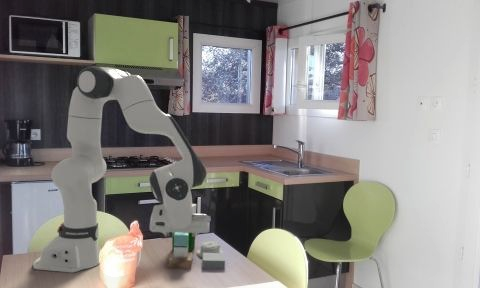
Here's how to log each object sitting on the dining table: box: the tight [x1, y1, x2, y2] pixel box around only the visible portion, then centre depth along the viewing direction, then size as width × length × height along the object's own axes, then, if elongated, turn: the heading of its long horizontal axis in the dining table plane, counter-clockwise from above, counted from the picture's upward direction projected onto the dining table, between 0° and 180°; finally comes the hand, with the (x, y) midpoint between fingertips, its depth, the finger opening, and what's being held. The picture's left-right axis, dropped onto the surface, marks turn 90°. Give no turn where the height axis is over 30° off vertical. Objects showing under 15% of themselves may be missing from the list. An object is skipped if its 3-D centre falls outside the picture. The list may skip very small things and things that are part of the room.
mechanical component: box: [196, 241, 224, 259], centre depth 170 cm, size 10×4×10 cm
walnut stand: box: [168, 251, 193, 269], centre depth 158 cm, size 8×8×3 cm
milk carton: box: [171, 203, 198, 253], centre depth 175 cm, size 9×9×20 cm
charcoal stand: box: [201, 252, 226, 270], centre depth 159 cm, size 8×8×3 cm
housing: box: [173, 232, 189, 258], centre depth 158 cm, size 5×4×9 cm
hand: (180, 234), depth 152 cm, fingers open, 8 cm apart
